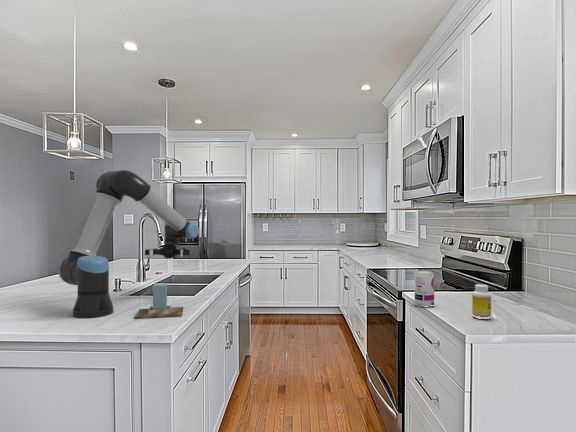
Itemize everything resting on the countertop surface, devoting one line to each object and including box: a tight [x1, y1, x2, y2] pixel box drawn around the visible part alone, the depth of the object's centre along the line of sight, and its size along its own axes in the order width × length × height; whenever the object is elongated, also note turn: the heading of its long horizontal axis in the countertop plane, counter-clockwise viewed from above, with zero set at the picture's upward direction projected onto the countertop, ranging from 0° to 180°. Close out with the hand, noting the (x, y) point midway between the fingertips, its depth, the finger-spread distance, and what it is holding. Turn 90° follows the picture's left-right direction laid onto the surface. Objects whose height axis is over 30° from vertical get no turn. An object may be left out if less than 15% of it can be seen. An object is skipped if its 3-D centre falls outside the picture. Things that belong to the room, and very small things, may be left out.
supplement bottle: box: [471, 283, 492, 317], centre depth 158 cm, size 7×7×13 cm
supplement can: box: [414, 270, 435, 308], centre depth 180 cm, size 8×8×15 cm
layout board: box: [133, 304, 184, 320], centre depth 167 cm, size 18×14×2 cm
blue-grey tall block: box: [152, 283, 168, 310], centre depth 167 cm, size 5×5×11 cm
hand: (165, 253), depth 184 cm, fingers open, 13 cm apart
